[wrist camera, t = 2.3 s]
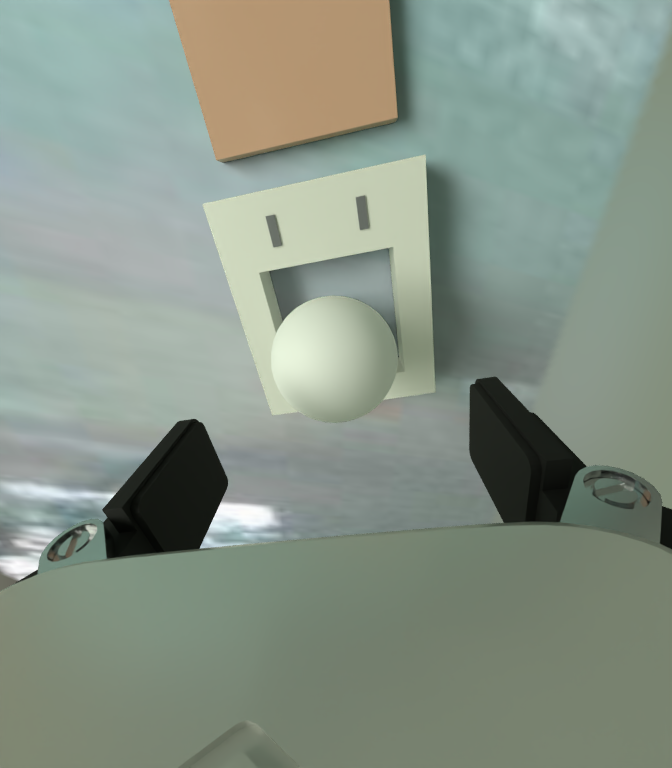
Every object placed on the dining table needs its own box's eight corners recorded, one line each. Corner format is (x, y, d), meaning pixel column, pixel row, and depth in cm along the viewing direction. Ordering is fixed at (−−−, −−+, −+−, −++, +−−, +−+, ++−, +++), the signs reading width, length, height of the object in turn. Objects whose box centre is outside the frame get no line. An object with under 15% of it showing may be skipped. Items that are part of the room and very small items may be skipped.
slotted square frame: (218, 204, 20) (201, 203, 17) (415, 161, 18) (425, 154, 16) (278, 398, 26) (272, 416, 24) (427, 376, 25) (435, 393, 22)
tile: (143, -110, 14) (130, -132, 13) (371, -188, 13) (373, -218, 12) (222, 162, 18) (216, 160, 18) (395, 122, 17) (397, 117, 17)
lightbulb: (336, 248, 21) (327, 280, 11) (398, 313, 22) (439, 389, 13) (277, 315, 23) (227, 392, 13) (339, 369, 25) (335, 470, 15)
